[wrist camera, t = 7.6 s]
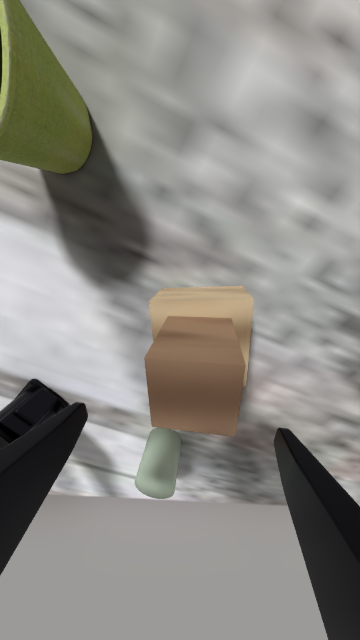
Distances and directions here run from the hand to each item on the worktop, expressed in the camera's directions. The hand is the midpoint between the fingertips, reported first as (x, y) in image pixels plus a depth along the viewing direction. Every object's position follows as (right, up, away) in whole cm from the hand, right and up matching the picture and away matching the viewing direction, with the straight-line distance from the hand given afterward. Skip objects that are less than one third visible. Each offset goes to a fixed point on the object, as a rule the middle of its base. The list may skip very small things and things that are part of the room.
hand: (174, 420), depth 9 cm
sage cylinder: (-2, -13, +19) cm, 24 cm away
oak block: (+3, +4, +12) cm, 13 cm away
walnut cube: (+2, +3, +7) cm, 8 cm away
